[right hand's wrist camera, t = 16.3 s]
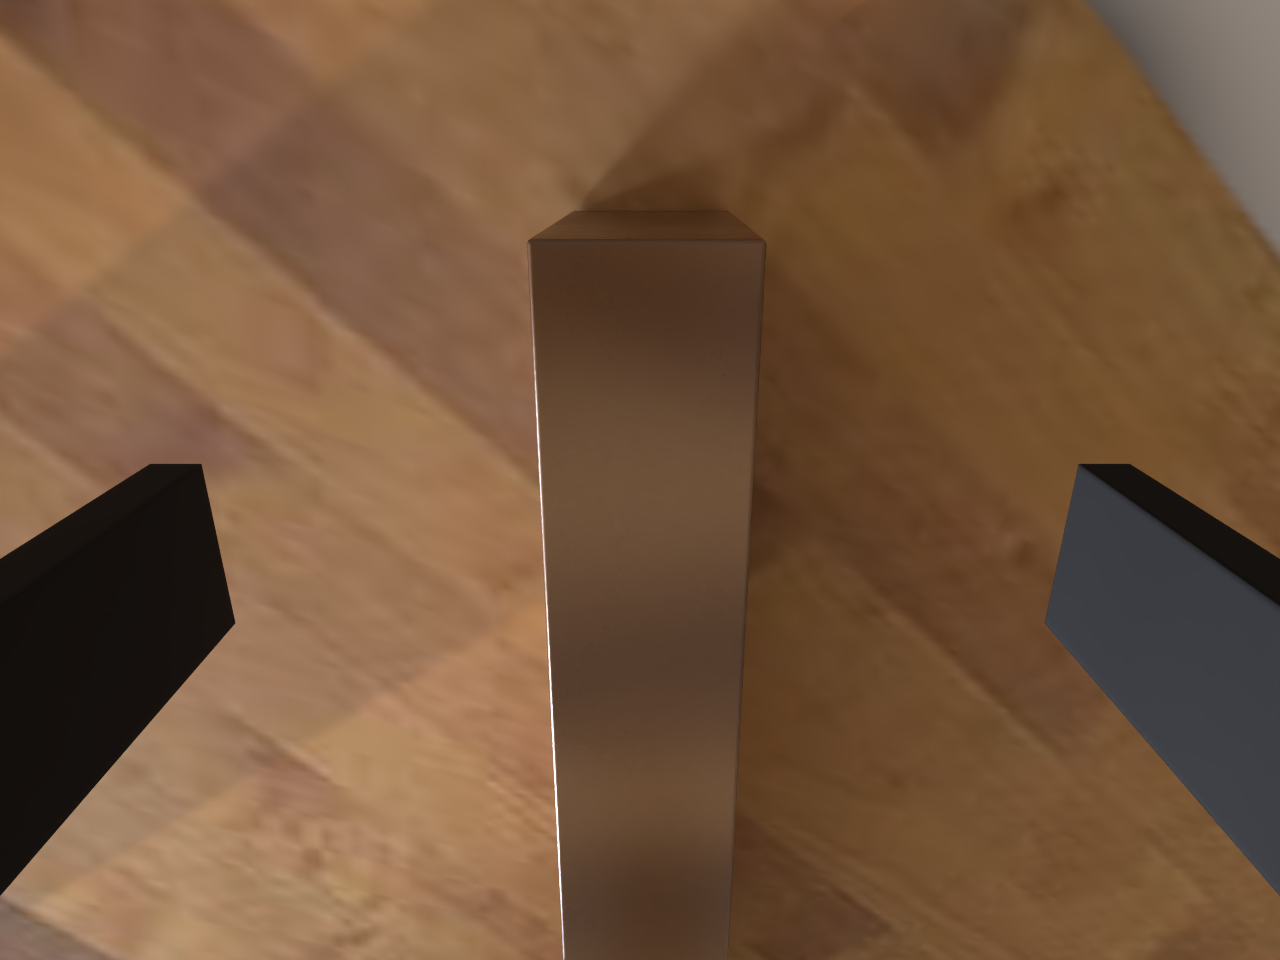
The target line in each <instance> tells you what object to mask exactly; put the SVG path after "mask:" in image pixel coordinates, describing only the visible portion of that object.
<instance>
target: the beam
mask: <svg viewBox="0 0 1280 960" xmlns="http://www.w3.org/2000/svg"><path fill="white" fill-rule="evenodd" d="M527 253H528V273H529V293H530V312H531V332H532V352H533V372H534V392H535V412H536V431H537V451H538V471H539V491H540V511H541V530H542V550H543V570H544V590H545V610H546V629H547V649H548V669H549V689H550V709H551V729H552V748H553V768H554V788H555V808H556V828H557V847H558V867H559V887H560V907H561V927H562V947H563V960H728V942H729V923H730V905H731V886H732V868H733V849H734V831H735V812H736V794H737V775H738V757H739V738H740V720H741V701H742V683H743V664H744V646H745V627H746V609H747V590H748V572H749V553H750V535H751V516H752V498H753V479H754V461H755V442H756V424H757V405H758V387H759V368H760V350H761V331H762V313H763V295H764V276H765V258H766V242H765V240H764V239H762V238H761V237H760V236H759V235H757V234H756V233H755V232H754V231H752V230H751V229H750V228H749V227H747V226H746V225H745V224H744V223H742V222H741V221H740V220H739V219H737V218H736V217H735V216H733V215H732V214H731V213H730V212H728V211H573V212H571V213H570V214H568V215H567V216H565V217H564V218H562V219H561V220H559V221H557V222H556V223H554V224H553V225H551V226H550V227H548V228H547V229H545V230H544V231H542V232H540V233H539V234H537V235H536V236H534V237H533V238H531V239H530V240H528V243H527Z"/></svg>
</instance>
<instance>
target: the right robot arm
mask: <svg viewBox="0 0 1280 960" xmlns="http://www.w3.org/2000/svg"><path fill="white" fill-rule="evenodd" d="M234 624H235V619H234V615H233V610H232V605H231V601H230V596H229V591H228V587H227V582H226V577H225V573H224V568H223V563H222V558H221V554H220V549H219V544H218V540H217V535H216V530H215V526H214V521H213V516H212V512H211V507H210V502H209V498H208V493H207V488H206V484H205V479H204V474H203V470H202V465H201V464H149V465H148V466H146V467H145V468H143V469H141V470H140V471H138V472H137V473H135V474H134V475H132V476H130V477H129V478H127V479H126V480H124V481H123V482H121V483H119V484H118V485H116V486H115V487H113V488H111V489H110V490H108V491H107V492H105V493H104V494H102V495H100V496H99V497H97V498H96V499H94V500H93V501H91V502H89V503H88V504H86V505H85V506H83V507H81V508H80V509H78V510H77V511H75V512H74V513H72V514H70V515H69V516H67V517H66V518H64V519H63V520H61V521H59V522H58V523H56V524H55V525H53V526H51V527H50V528H48V529H47V530H45V531H44V532H42V533H40V534H39V535H37V536H36V537H34V538H33V539H31V540H29V541H28V542H26V543H25V544H23V545H21V546H20V547H18V548H17V549H15V550H14V551H12V552H10V553H9V554H7V555H6V556H4V557H3V558H1V559H0V895H1V894H2V893H3V892H4V891H5V890H6V888H7V887H8V886H9V885H10V884H11V883H12V882H13V880H14V879H15V878H16V877H17V876H18V875H19V873H20V872H21V871H22V870H23V869H24V868H25V866H26V865H27V864H28V863H29V862H30V861H31V859H32V858H33V857H34V856H35V855H36V854H37V853H38V851H39V850H40V849H41V848H42V847H43V846H44V844H45V843H46V842H47V841H48V840H49V839H50V837H51V836H52V835H53V834H54V833H55V832H56V830H57V829H58V828H59V827H60V826H61V825H62V824H63V822H64V821H65V820H66V819H67V818H68V817H69V815H70V814H71V813H72V812H73V811H74V810H75V808H76V807H77V806H78V805H79V804H80V803H81V801H82V800H83V799H84V798H85V797H86V796H87V795H88V793H89V792H90V791H91V790H92V789H93V788H94V786H95V785H96V784H97V783H98V782H99V781H100V779H101V778H102V777H103V776H104V775H105V774H106V773H107V771H108V770H109V769H110V768H111V767H112V766H113V764H114V763H115V762H116V761H117V760H118V759H119V757H120V756H121V755H122V754H123V753H124V752H125V750H126V749H127V748H128V747H129V746H130V745H131V744H132V742H133V741H134V740H135V739H136V738H137V737H138V735H139V734H140V733H141V732H142V731H143V730H144V728H145V727H146V726H147V725H148V724H149V723H150V721H151V720H152V719H153V718H154V717H155V716H156V715H157V713H158V712H159V711H160V710H161V709H162V708H163V706H164V705H165V704H166V703H167V702H168V701H169V699H170V698H171V697H172V696H173V695H174V694H175V692H176V691H177V690H178V689H179V688H180V687H181V686H182V684H183V683H184V682H185V681H186V680H187V679H188V677H189V676H190V675H191V674H192V673H193V672H194V670H195V669H196V668H197V667H198V666H199V665H200V663H201V662H202V661H203V660H204V659H205V658H206V657H207V655H208V654H209V653H210V652H211V651H212V650H213V648H214V647H215V646H216V645H217V644H218V643H219V641H220V640H221V639H222V638H223V637H224V636H225V634H226V633H227V632H228V631H229V630H230V629H231V628H232V626H233V625H234ZM1045 624H1046V625H1047V626H1048V628H1049V629H1050V630H1051V631H1052V632H1053V633H1054V634H1055V636H1056V637H1057V638H1058V639H1059V640H1060V641H1061V643H1062V644H1063V645H1064V646H1065V647H1066V648H1067V650H1068V651H1069V652H1070V653H1071V654H1072V655H1073V657H1074V658H1075V659H1076V660H1077V661H1078V662H1079V663H1080V665H1081V666H1082V667H1083V668H1084V669H1085V670H1086V672H1087V673H1088V674H1089V675H1090V676H1091V677H1092V679H1093V680H1094V681H1095V682H1096V683H1097V684H1098V686H1099V687H1100V688H1101V689H1102V690H1103V691H1104V692H1105V694H1106V695H1107V696H1108V697H1109V698H1110V699H1111V701H1112V702H1113V703H1114V704H1115V705H1116V706H1117V708H1118V709H1119V710H1120V711H1121V712H1122V713H1123V715H1124V716H1125V717H1126V718H1127V719H1128V720H1129V721H1130V723H1131V724H1132V725H1133V726H1134V727H1135V728H1136V730H1137V731H1138V732H1139V733H1140V734H1141V735H1142V737H1143V738H1144V739H1145V740H1146V741H1147V742H1148V744H1149V745H1150V746H1151V747H1152V748H1153V749H1154V750H1155V752H1156V753H1157V754H1158V755H1159V756H1160V757H1161V759H1162V760H1163V761H1164V762H1165V763H1166V764H1167V766H1168V767H1169V768H1170V769H1171V770H1172V771H1173V773H1174V774H1175V775H1176V776H1177V777H1178V778H1179V779H1180V781H1181V782H1182V783H1183V784H1184V785H1185V786H1186V788H1187V789H1188V790H1189V791H1190V792H1191V793H1192V795H1193V796H1194V797H1195V798H1196V799H1197V800H1198V802H1199V803H1200V804H1201V805H1202V806H1203V807H1204V808H1205V810H1206V811H1207V812H1208V813H1209V814H1210V815H1211V817H1212V818H1213V819H1214V820H1215V821H1216V822H1217V824H1218V825H1219V826H1220V827H1221V828H1222V829H1223V830H1224V832H1225V833H1226V834H1227V835H1228V836H1229V837H1230V839H1231V840H1232V841H1233V842H1234V843H1235V844H1236V846H1237V847H1238V848H1239V849H1240V850H1241V851H1242V853H1243V854H1244V855H1245V856H1246V857H1247V858H1248V859H1249V861H1250V862H1251V863H1252V864H1253V865H1254V866H1255V868H1256V869H1257V870H1258V871H1259V872H1260V873H1261V875H1262V876H1263V877H1264V878H1265V879H1266V880H1267V882H1268V883H1269V884H1270V885H1271V886H1272V887H1273V888H1274V890H1275V891H1276V892H1277V893H1278V894H1279V895H1280V559H1279V558H1277V557H1276V556H1274V555H1273V554H1271V553H1270V552H1268V551H1266V550H1265V549H1263V548H1262V547H1260V546H1259V545H1257V544H1255V543H1254V542H1252V541H1251V540H1249V539H1247V538H1246V537H1244V536H1243V535H1241V534H1240V533H1238V532H1236V531H1235V530H1233V529H1232V528H1230V527H1229V526H1227V525H1225V524H1224V523H1222V522H1221V521H1219V520H1217V519H1216V518H1214V517H1213V516H1211V515H1210V514H1208V513H1206V512H1205V511H1203V510H1202V509H1200V508H1199V507H1197V506H1195V505H1194V504H1192V503H1191V502H1189V501H1187V500H1186V499H1184V498H1183V497H1181V496H1180V495H1178V494H1176V493H1175V492H1173V491H1172V490H1170V489H1169V488H1167V487H1165V486H1164V485H1162V484H1161V483H1159V482H1157V481H1156V480H1154V479H1153V478H1151V477H1150V476H1148V475H1146V474H1145V473H1143V472H1142V471H1140V470H1139V469H1137V468H1135V467H1134V466H1132V465H1131V464H1079V465H1078V470H1077V474H1076V479H1075V484H1074V488H1073V493H1072V498H1071V502H1070V507H1069V512H1068V516H1067V521H1066V526H1065V530H1064V535H1063V540H1062V544H1061V549H1060V554H1059V558H1058V563H1057V568H1056V573H1055V577H1054V582H1053V587H1052V591H1051V596H1050V601H1049V605H1048V610H1047V615H1046V619H1045Z"/></svg>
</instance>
